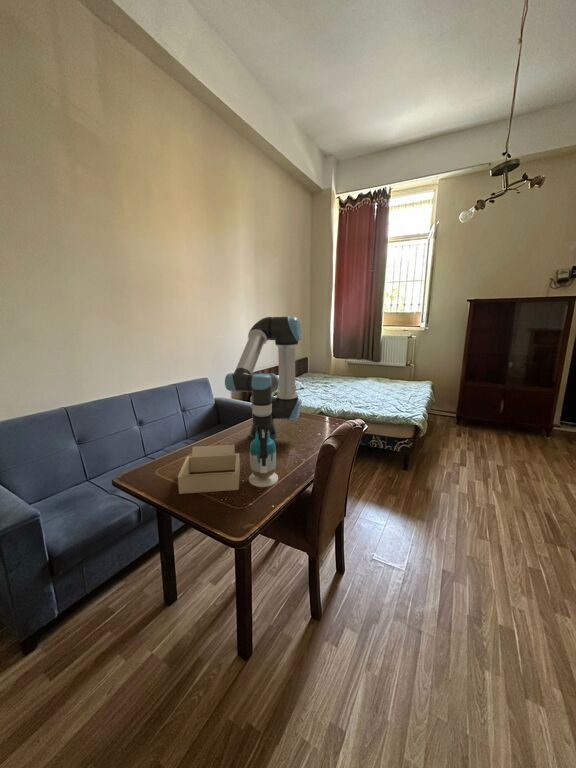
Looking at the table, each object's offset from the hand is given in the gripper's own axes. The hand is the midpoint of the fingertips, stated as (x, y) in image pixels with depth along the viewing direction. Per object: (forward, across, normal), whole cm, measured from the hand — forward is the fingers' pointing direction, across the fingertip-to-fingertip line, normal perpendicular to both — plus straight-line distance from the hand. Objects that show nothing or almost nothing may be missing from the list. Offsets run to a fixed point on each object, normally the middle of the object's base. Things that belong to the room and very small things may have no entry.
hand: (263, 465), depth 127 cm
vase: (+5, 0, 0) cm, 5 cm away
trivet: (+6, 0, 0) cm, 6 cm away
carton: (+6, -2, -21) cm, 22 cm away
